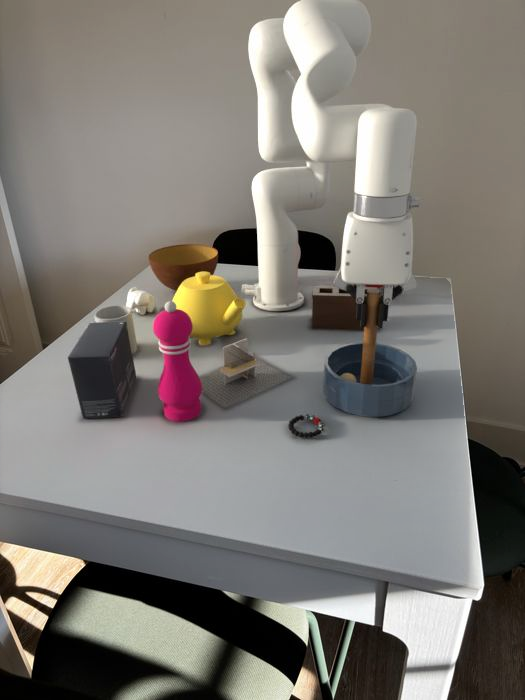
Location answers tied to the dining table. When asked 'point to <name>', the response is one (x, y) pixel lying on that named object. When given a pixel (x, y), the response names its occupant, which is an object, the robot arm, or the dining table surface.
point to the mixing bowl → (388, 380)
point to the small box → (103, 369)
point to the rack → (334, 309)
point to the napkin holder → (240, 376)
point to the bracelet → (310, 434)
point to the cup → (118, 314)
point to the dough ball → (349, 377)
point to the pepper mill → (177, 365)
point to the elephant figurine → (140, 301)
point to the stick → (370, 336)
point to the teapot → (209, 306)
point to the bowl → (182, 263)
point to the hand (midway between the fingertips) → (371, 323)
